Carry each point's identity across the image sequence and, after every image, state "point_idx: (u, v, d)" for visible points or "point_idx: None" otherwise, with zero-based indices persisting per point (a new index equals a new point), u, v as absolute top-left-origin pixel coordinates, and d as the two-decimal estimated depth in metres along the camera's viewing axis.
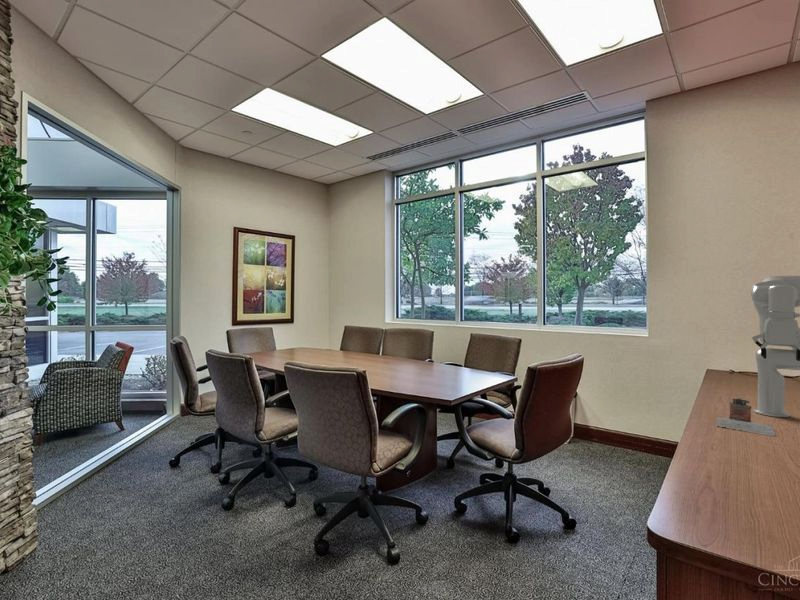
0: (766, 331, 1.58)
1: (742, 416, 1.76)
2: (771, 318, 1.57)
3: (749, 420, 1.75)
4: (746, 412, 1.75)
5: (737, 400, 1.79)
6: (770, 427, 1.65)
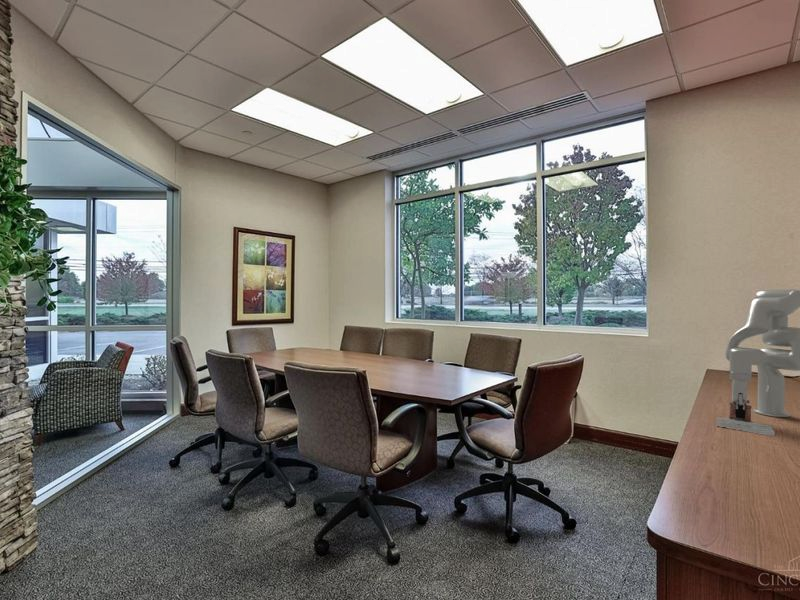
0: (746, 392, 1.74)
1: None
2: (746, 380, 1.75)
3: (749, 420, 1.75)
4: (746, 412, 1.75)
5: None
6: (770, 427, 1.65)
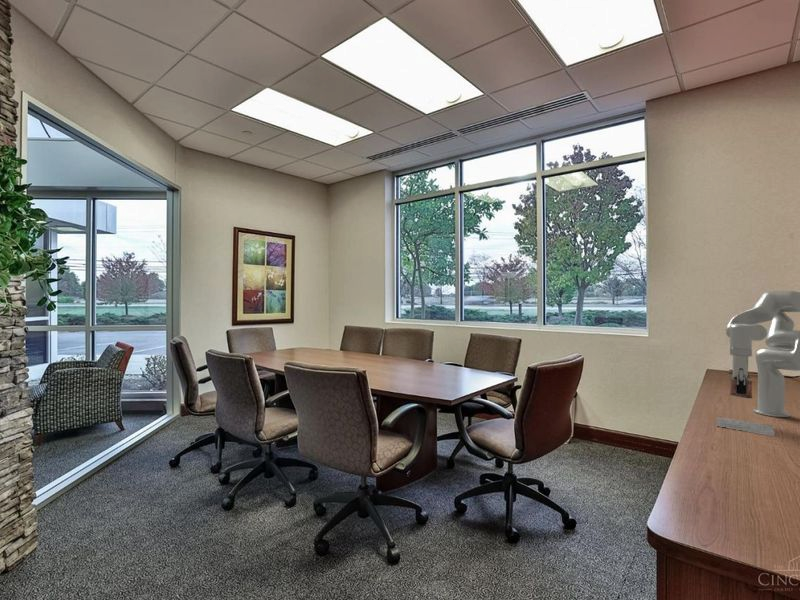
0: (746, 367, 1.74)
1: None
2: (747, 355, 1.75)
3: (750, 395, 1.75)
4: (747, 387, 1.76)
5: (738, 376, 1.79)
6: (770, 427, 1.65)
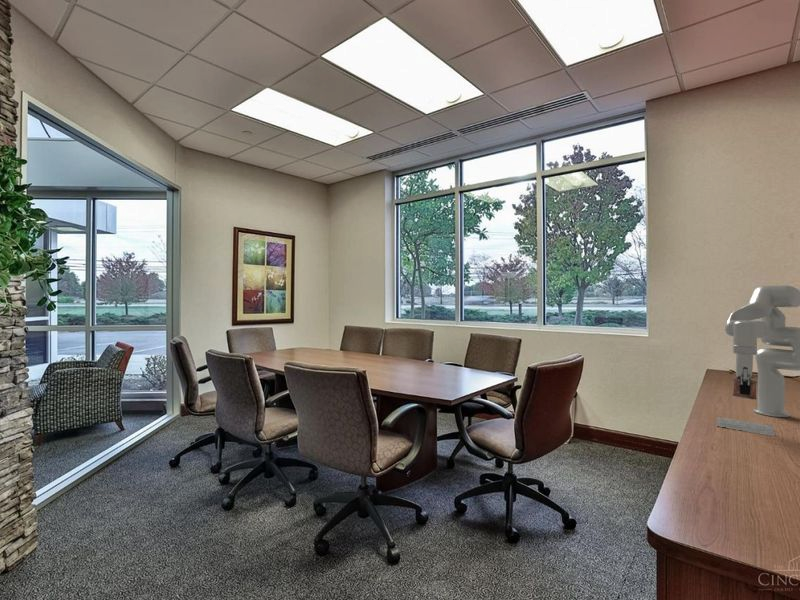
0: (751, 366, 1.63)
1: None
2: (751, 353, 1.64)
3: (754, 396, 1.64)
4: (751, 388, 1.65)
5: None
6: (770, 427, 1.65)
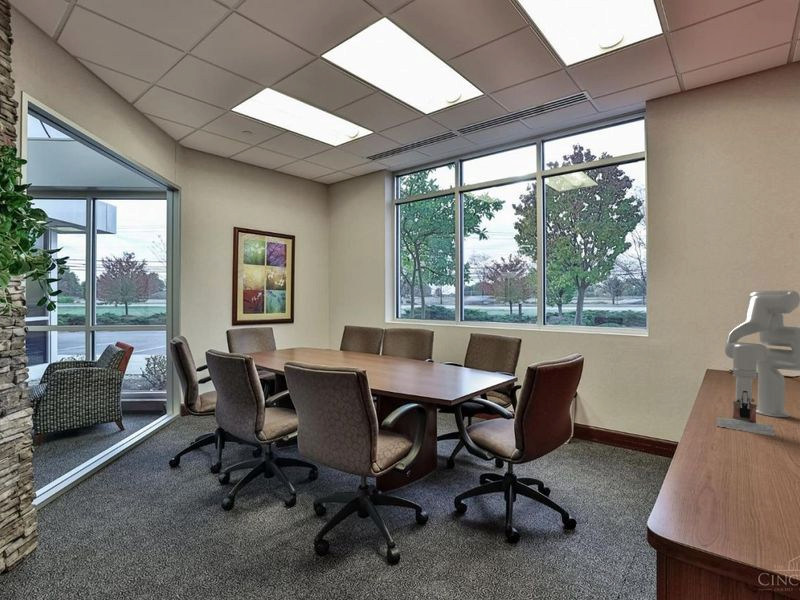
0: (751, 390, 1.63)
1: None
2: (751, 377, 1.64)
3: (754, 420, 1.64)
4: (751, 411, 1.65)
5: None
6: (770, 427, 1.65)
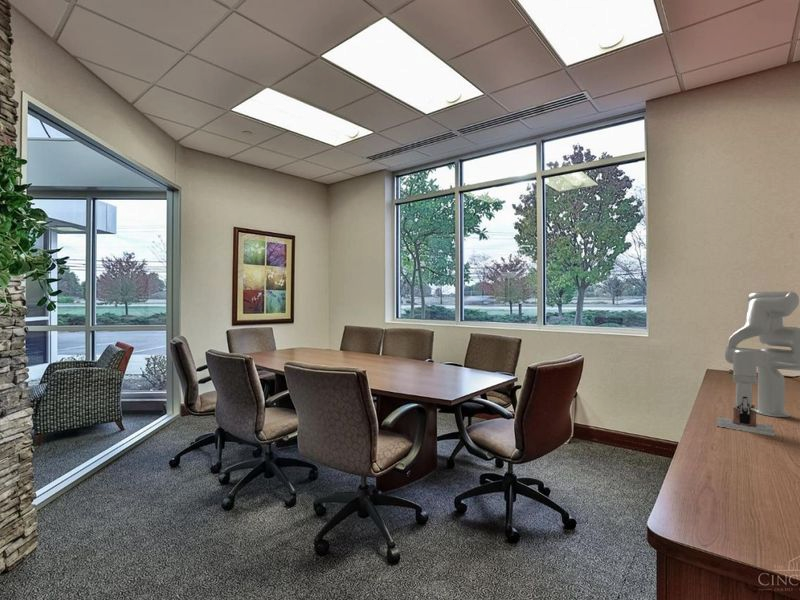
0: (751, 396, 1.63)
1: None
2: (751, 383, 1.64)
3: (754, 426, 1.64)
4: (751, 418, 1.65)
5: None
6: (770, 427, 1.65)
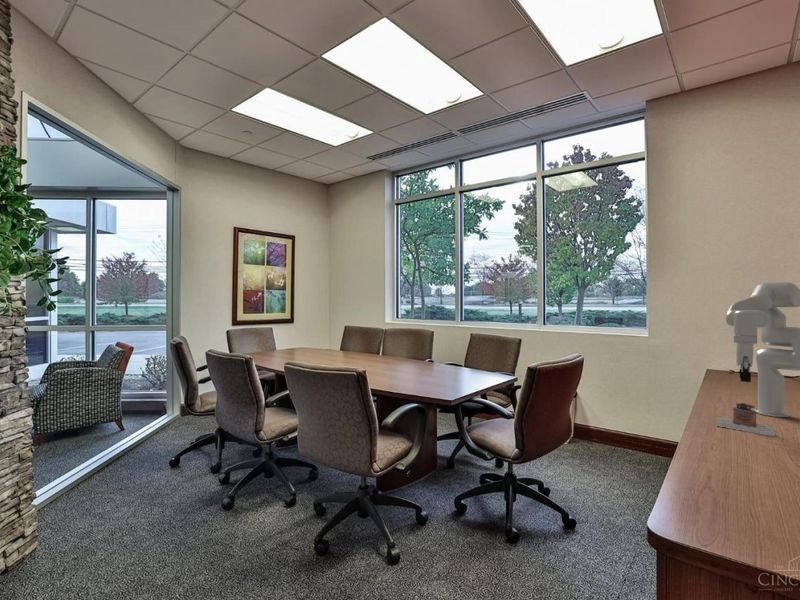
0: (751, 355, 1.63)
1: (747, 422, 1.66)
2: (752, 342, 1.64)
3: (754, 426, 1.64)
4: (751, 418, 1.65)
5: (741, 405, 1.68)
6: (770, 427, 1.65)
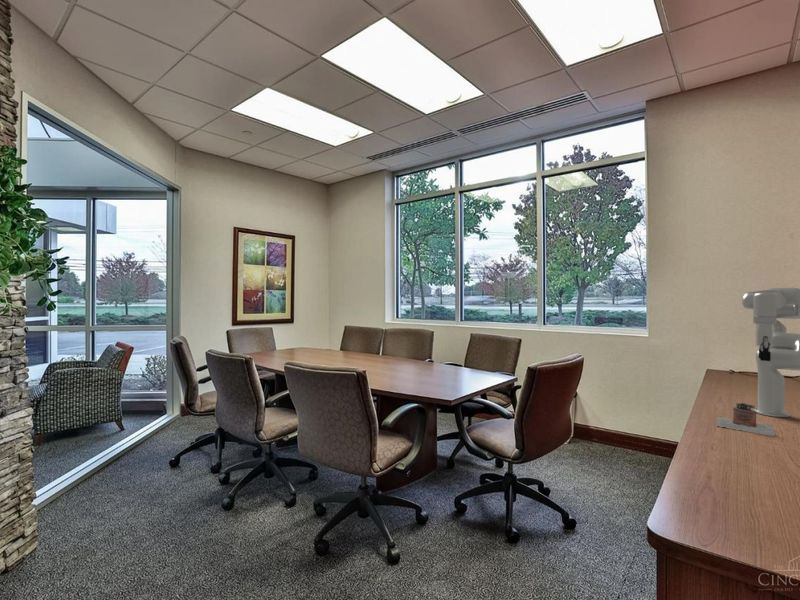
0: (771, 335, 1.70)
1: (747, 422, 1.66)
2: (771, 323, 1.71)
3: (754, 426, 1.64)
4: (751, 418, 1.65)
5: (741, 405, 1.68)
6: (770, 427, 1.65)
